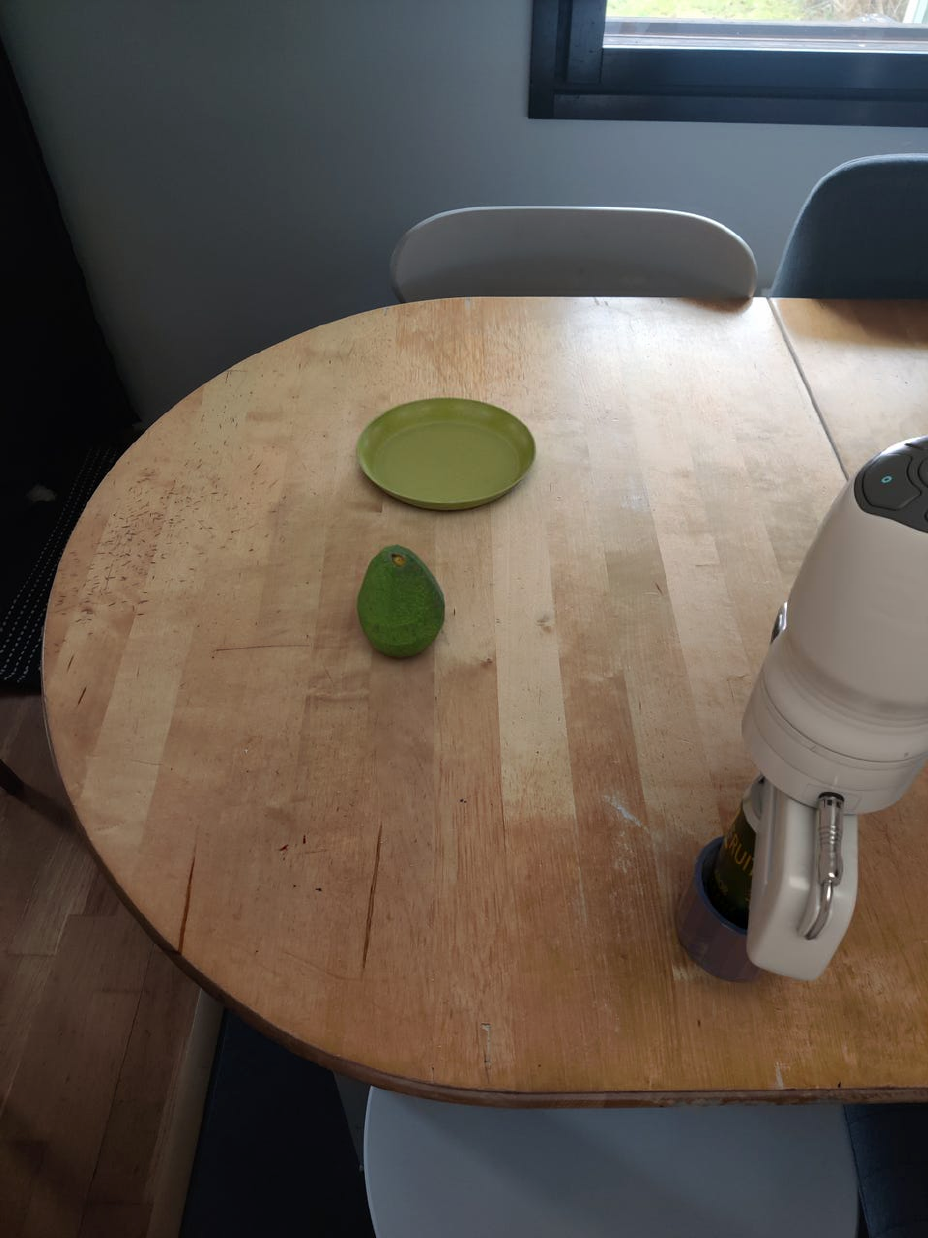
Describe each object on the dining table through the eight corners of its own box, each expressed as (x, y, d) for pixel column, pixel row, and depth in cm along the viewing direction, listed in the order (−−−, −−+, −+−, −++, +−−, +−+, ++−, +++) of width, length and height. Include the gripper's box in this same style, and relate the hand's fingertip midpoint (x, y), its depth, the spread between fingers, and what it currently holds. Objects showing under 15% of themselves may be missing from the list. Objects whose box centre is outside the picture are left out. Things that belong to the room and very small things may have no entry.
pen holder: (785, 897, 64) (813, 850, 58) (780, 997, 58) (810, 955, 53) (682, 868, 65) (701, 820, 60) (668, 964, 60) (687, 919, 55)
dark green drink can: (761, 854, 60) (811, 755, 52) (800, 925, 57) (861, 832, 48) (691, 871, 60) (730, 773, 51) (726, 945, 56) (774, 853, 47)
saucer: (330, 504, 96) (327, 480, 94) (395, 408, 110) (393, 385, 107) (508, 539, 92) (510, 516, 89) (552, 435, 105) (554, 412, 103)
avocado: (353, 672, 79) (340, 576, 70) (371, 611, 84) (361, 516, 76) (439, 681, 78) (436, 586, 69) (452, 620, 83) (450, 524, 75)
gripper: (909, 928, 37) (813, 1038, 47) (893, 606, 50) (822, 744, 60) (758, 886, 38) (696, 1002, 48) (782, 583, 52) (730, 723, 61)
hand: (766, 856), depth 54 cm, fingers closed on dark green drink can, 5 cm apart
